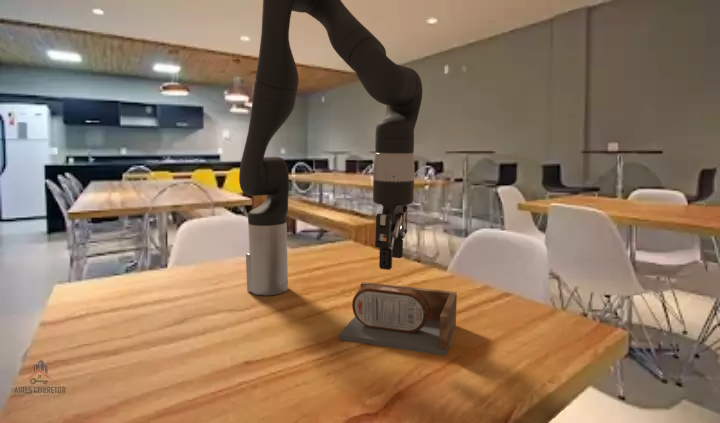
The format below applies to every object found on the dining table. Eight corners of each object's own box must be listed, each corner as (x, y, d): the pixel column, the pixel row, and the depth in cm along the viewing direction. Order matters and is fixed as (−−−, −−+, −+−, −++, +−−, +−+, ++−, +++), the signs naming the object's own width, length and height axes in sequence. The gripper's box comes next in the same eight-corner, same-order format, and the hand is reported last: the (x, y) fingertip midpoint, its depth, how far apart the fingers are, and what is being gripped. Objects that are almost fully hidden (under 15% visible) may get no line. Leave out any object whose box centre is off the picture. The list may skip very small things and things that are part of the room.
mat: (338, 339, 83) (338, 334, 83) (362, 313, 96) (362, 308, 96) (445, 355, 77) (446, 350, 76) (455, 325, 90) (455, 320, 90)
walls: (338, 334, 83) (338, 303, 82) (362, 308, 96) (362, 281, 95) (446, 350, 76) (447, 317, 76) (455, 320, 90) (456, 291, 89)
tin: (430, 331, 84) (431, 288, 83) (426, 337, 82) (428, 293, 80) (355, 320, 89) (355, 280, 88) (350, 326, 86) (350, 285, 85)
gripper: (404, 182, 74) (402, 275, 76) (421, 175, 87) (418, 255, 90) (362, 180, 76) (360, 271, 79) (384, 174, 89) (382, 252, 92)
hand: (391, 262), depth 84 cm, fingers open, 8 cm apart
